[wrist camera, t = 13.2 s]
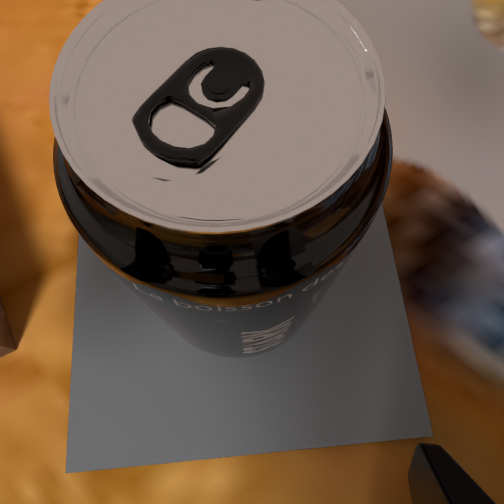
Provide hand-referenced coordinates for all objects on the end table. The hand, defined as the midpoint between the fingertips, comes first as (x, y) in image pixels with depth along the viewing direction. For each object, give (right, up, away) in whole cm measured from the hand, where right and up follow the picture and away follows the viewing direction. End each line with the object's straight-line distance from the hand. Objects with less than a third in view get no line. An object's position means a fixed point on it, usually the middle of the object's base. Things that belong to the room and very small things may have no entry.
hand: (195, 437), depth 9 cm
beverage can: (+1, +2, +10) cm, 10 cm away
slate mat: (0, +3, +10) cm, 10 cm away
